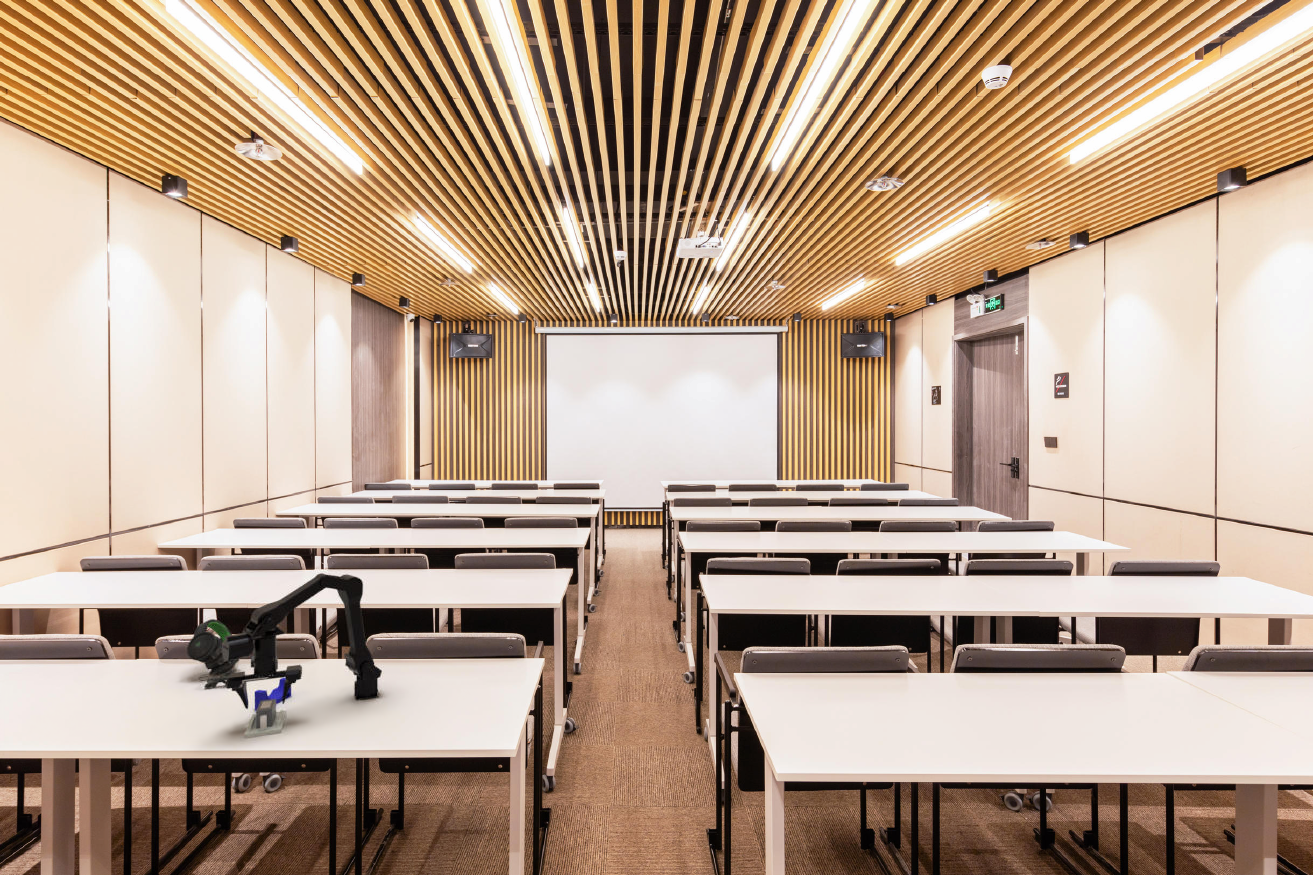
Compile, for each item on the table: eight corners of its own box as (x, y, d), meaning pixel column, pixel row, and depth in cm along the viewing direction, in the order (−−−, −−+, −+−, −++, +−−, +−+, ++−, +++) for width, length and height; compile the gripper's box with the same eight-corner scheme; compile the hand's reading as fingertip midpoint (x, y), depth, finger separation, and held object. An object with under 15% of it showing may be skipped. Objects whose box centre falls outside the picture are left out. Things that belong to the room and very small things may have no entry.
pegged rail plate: (286, 713, 208) (286, 697, 208) (281, 732, 195) (281, 714, 195) (252, 718, 205) (251, 701, 205) (244, 738, 192) (244, 720, 192)
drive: (276, 715, 205) (275, 698, 205) (272, 726, 197) (272, 708, 197) (260, 717, 203) (260, 700, 203) (256, 728, 196) (256, 710, 196)
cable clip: (279, 695, 223) (278, 677, 223) (291, 696, 222) (291, 678, 222) (250, 710, 211) (250, 691, 211) (263, 711, 210) (263, 692, 210)
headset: (209, 709, 233) (223, 647, 256) (249, 690, 234) (259, 630, 258) (173, 679, 222) (191, 617, 246) (214, 659, 224) (228, 599, 247)
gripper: (303, 640, 211) (303, 691, 211) (232, 647, 204) (232, 700, 204) (300, 651, 201) (300, 704, 201) (225, 659, 193) (226, 715, 194)
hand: (265, 705), depth 200 cm, fingers open, 9 cm apart
